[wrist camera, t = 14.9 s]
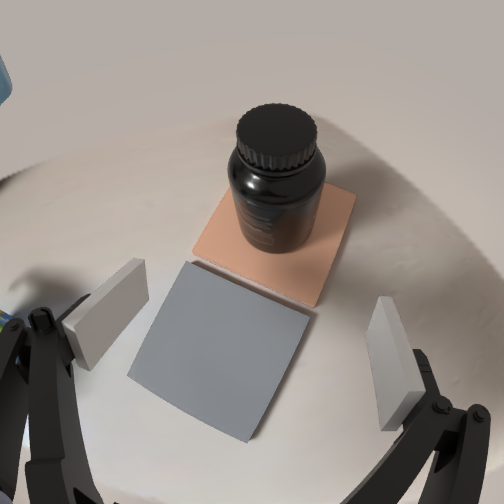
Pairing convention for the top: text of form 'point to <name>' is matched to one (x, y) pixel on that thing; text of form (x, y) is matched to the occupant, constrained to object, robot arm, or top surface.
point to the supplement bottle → (276, 177)
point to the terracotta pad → (280, 265)
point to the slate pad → (218, 351)
